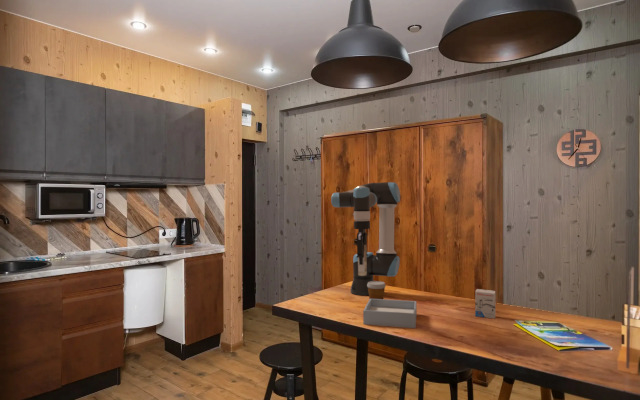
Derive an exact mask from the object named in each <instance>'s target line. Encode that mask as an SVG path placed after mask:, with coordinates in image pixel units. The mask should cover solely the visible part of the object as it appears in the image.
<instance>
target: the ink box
mask: <svg viewBox="0 0 640 400" xmlns="http://www.w3.org/2000/svg"><path fill="white" fill-rule="evenodd" d="M496 293H497V292H496V290H490V289H489V290H488V289H480V288H477V289H475V295H474V296H475V297H474V298H475V299H474V301H475V307H474V308H475V311H474V312H475V314H474V316H475V317H479V318H485V317H486V319H493V318H494V320H495V319H496V313H497V311H496V308H497V307H496V304H497V303H496V297H497V296H496V295H497V294H496Z"/></svg>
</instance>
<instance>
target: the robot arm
mask: <svg viewBox="0 0 640 400" xmlns="http://www.w3.org/2000/svg"><path fill="white" fill-rule="evenodd" d="M330 199H331V201H330V202H331V205H332V206H333V207H334V208H338V209H339V208H353V213H352V216H353V220H354V221H353V229H354V230H357V233H356V253H355V254H354V255H353V258H352V261H353V262H352V266H353V267H352V270H353V273H352V274H353V277H352V278H353V279H352V283H351V286H350V293H351V294H352V295H353V294H354V295H356V296H357V295H358V296H369V292H368V287H367V284H368V282H370V281H375V280H374V276H378V277H379V276H380V277H396V276H397V274H398V272H399V270H400V269H399V268H400V261H401V258H400V256H398V255H397V254H398V253H397V251H396V250H395V208H396V207H398V203H401V192H400V188H399V185H398V183H397V182H389V181H387V182H386V181H385V182H369V183H366V184H362V185H358V186H357V187H354V188H353V189H350V190H347V191H343V192H333V193H332V195H331V198H330ZM375 205H376V206H377V207H378V208H379V209H378V211H379V215H378V216H379V220H378V230H379V232H378V250H377V251H376V254H375V255H374V252H370V251H368V233H367V232H366V230H369V229H370V228H371V221H370V220H371V210H370V209H371V208H372V207H374V206H375ZM364 245H366V255H367V275H366V276H359V275H358V272H365V265H364Z"/></svg>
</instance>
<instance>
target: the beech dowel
mask: <svg viewBox="0 0 640 400" xmlns="http://www.w3.org/2000/svg"><path fill="white" fill-rule="evenodd" d="M364 265H365V272H358V275H359V276H366V275H367V255H366V245H364Z"/></svg>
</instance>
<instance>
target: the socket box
mask: <svg viewBox="0 0 640 400" xmlns="http://www.w3.org/2000/svg"><path fill="white" fill-rule="evenodd" d="M368 299H369V298H368ZM417 308H418V307H417V301H416V300H404V299H403V300H400V299H369V300H368V302H367V303H366V305H365V307H364V309H363V310H362V316H363V318H362V319H363V322H362V323H363V325H367V326H383V327H393V328H394V327H396V328H408V329H416V328H417V327H416V325H417V314H418V313H417V312H418V311H417Z"/></svg>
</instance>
